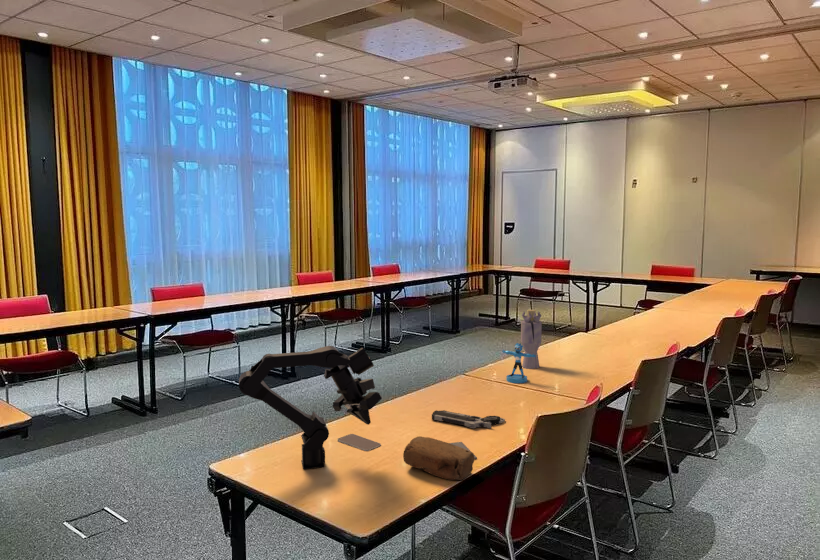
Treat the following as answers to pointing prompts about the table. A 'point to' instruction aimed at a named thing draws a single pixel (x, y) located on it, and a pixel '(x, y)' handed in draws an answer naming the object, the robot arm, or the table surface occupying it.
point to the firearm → (466, 419)
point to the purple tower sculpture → (531, 338)
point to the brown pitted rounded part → (439, 458)
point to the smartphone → (359, 442)
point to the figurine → (517, 377)
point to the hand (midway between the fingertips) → (369, 423)
